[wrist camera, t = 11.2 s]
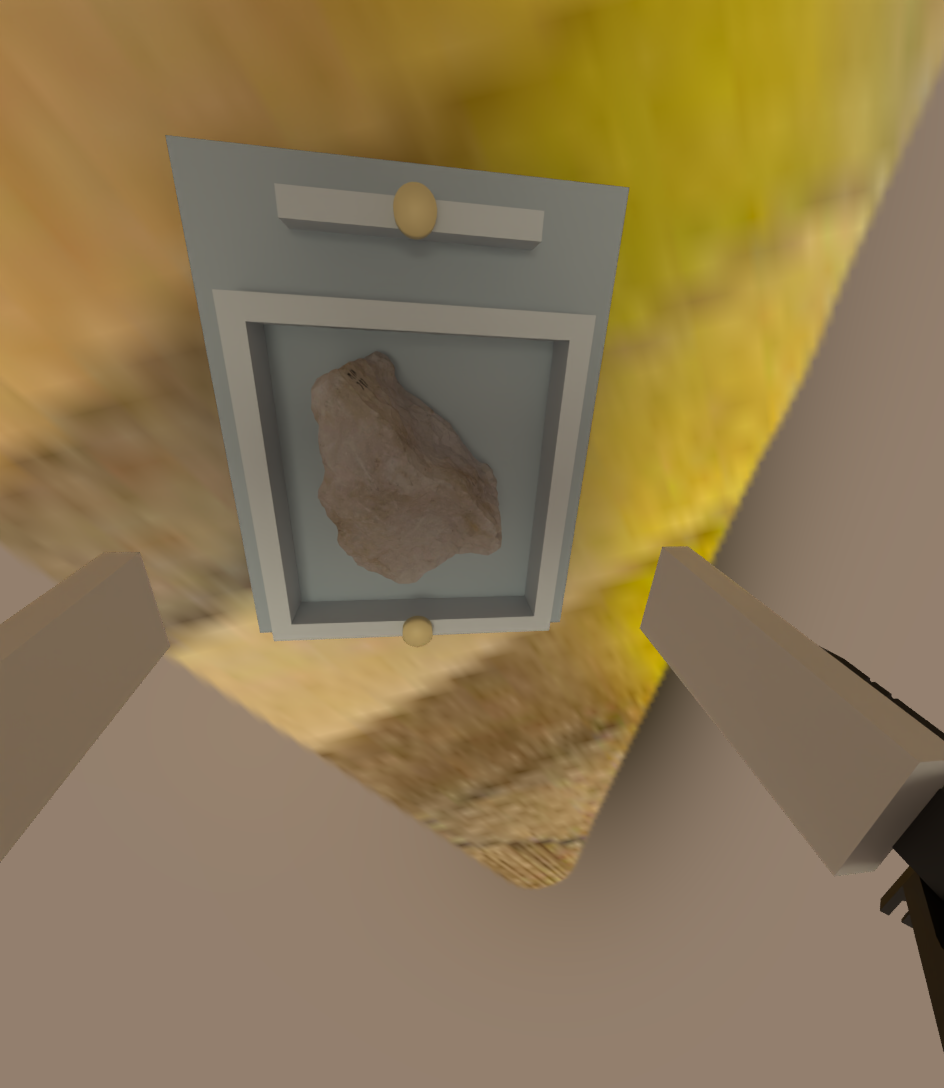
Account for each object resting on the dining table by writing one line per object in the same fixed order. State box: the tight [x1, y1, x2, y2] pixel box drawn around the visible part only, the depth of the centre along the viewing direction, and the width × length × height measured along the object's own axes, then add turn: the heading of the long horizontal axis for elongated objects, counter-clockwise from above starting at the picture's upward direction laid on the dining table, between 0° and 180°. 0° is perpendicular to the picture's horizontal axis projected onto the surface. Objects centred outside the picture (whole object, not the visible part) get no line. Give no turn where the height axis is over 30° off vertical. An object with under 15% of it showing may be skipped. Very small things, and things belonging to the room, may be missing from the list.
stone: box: [311, 351, 502, 584], centre depth 19 cm, size 8×10×6 cm
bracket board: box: [165, 135, 629, 647], centre depth 20 cm, size 22×18×4 cm
